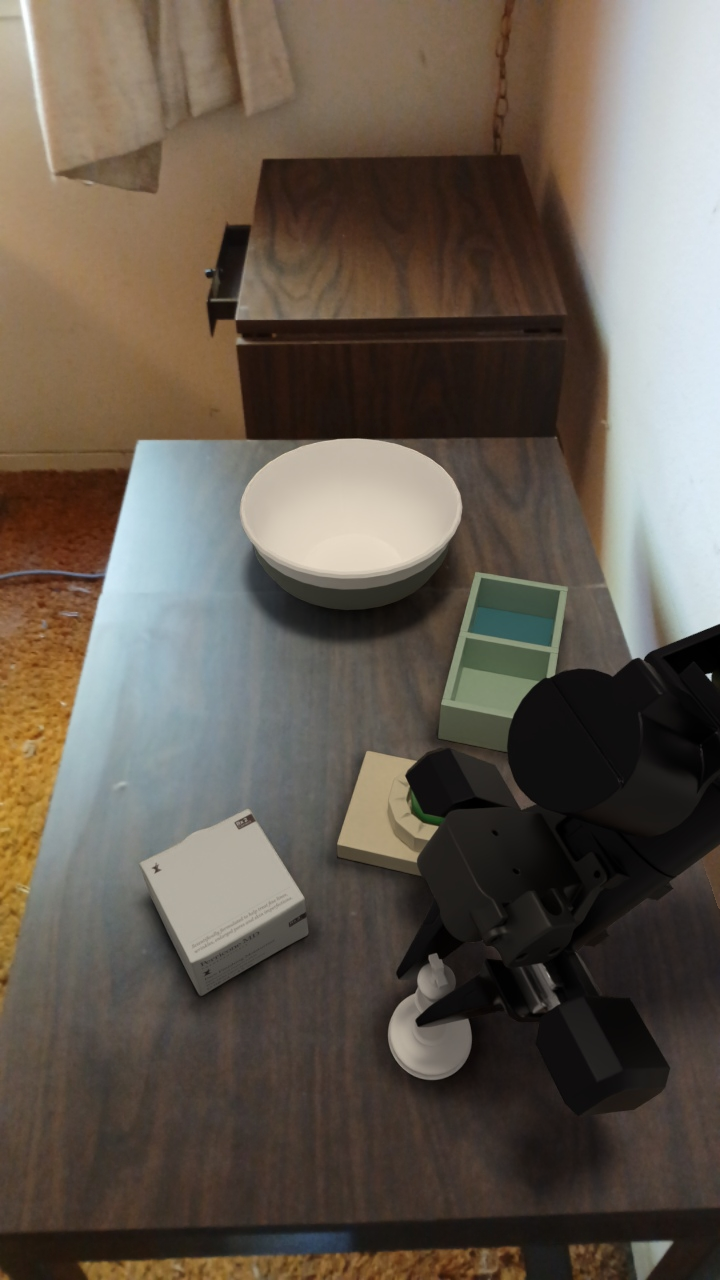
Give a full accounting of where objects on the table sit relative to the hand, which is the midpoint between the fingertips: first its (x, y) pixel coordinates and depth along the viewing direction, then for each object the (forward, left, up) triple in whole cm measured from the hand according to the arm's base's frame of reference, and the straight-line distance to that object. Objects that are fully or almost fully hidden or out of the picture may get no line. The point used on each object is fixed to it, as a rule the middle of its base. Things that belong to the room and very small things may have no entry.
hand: (411, 1000), depth 47 cm
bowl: (+14, -39, -7) cm, 42 cm away
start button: (+1, -15, -3) cm, 15 cm away
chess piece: (-1, -1, -7) cm, 7 cm away
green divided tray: (-1, -30, -7) cm, 30 cm away
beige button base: (+3, -15, -7) cm, 16 cm away
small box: (+13, -5, -7) cm, 15 cm away
